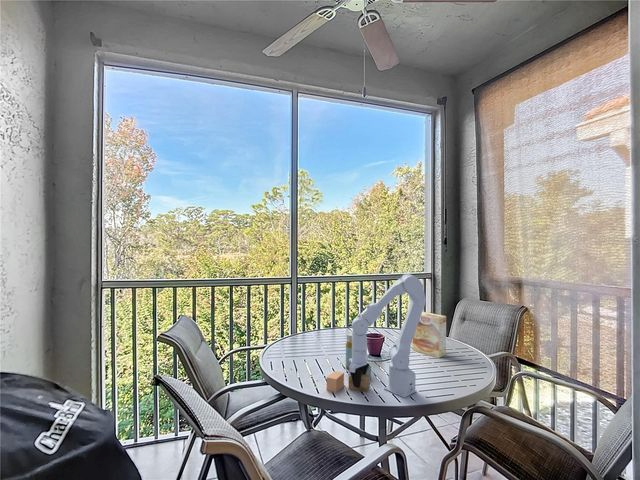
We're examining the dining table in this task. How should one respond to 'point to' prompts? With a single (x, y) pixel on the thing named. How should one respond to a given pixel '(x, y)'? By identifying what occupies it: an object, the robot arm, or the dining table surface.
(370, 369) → the slate brick
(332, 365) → the dining table surface
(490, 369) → the dining table surface
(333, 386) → the terracotta brick
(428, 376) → the dining table surface
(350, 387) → the walnut brick
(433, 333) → the coffeecake box
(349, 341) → the bottle
